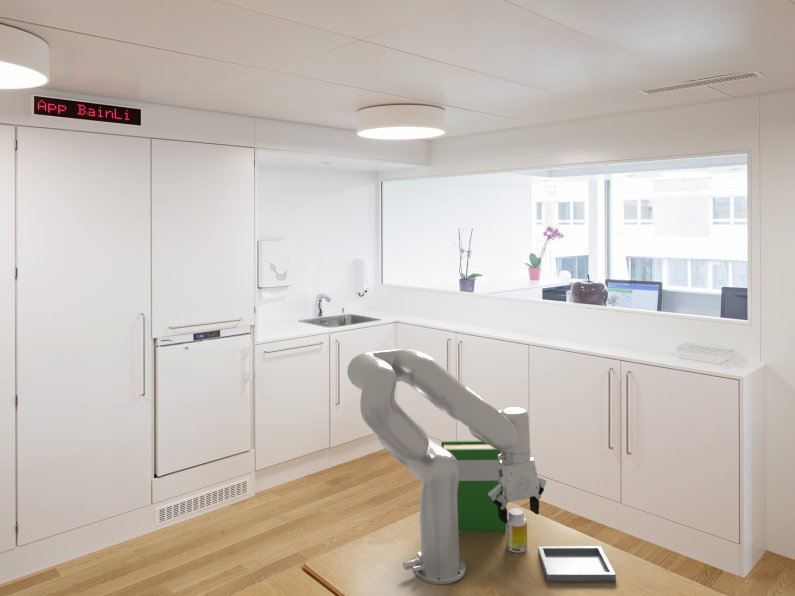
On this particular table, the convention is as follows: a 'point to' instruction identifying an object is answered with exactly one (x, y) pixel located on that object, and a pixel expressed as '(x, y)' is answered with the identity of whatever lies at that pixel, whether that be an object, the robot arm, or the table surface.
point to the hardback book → (476, 485)
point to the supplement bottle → (516, 531)
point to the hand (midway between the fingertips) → (519, 516)
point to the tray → (576, 564)
